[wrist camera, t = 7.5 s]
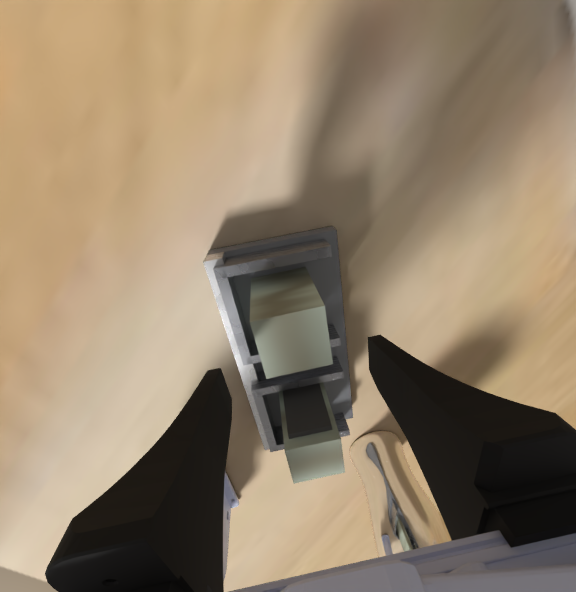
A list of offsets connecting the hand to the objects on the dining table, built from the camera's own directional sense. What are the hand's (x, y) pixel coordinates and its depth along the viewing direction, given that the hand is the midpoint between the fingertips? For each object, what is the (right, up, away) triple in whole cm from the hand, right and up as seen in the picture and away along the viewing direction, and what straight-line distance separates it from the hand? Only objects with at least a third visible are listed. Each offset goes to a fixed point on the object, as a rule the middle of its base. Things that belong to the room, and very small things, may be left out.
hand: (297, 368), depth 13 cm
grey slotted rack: (0, -1, +11) cm, 11 cm away
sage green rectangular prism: (-1, +3, +7) cm, 8 cm away
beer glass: (+10, -14, +19) cm, 25 cm away
